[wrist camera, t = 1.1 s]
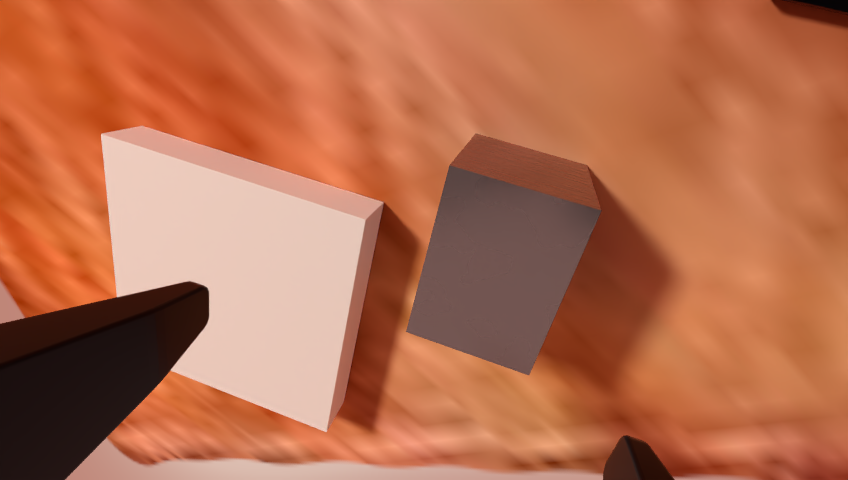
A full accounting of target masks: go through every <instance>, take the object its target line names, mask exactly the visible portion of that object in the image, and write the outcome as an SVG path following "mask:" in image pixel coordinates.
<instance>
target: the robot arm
mask: <svg viewBox="0 0 848 480" xmlns="http://www.w3.org/2000/svg"><path fill="white" fill-rule="evenodd" d="M784 1H788V2H793V3H797V4H801V5H806V6H810V7H815V8H819V9H824V10H828V11H832V12H837V13H841V14H846V15H848V0H784ZM208 320H209V290H208V288H207V287H206V286H204V285H201V284H198V283H196V282H192V281H187V282H182V283H178V284H173V285H169V286H165V287H160V288H156V289H151V290H147V291H142V292H138V293H134V294H129V295H125V296H120V297H116V298H112V299H107V300H103V301H98V302H94V303H90V304H85V305H81V306H76V307H72V308H68V309H63V310H59V311H54V312H50V313H46V314H41V315H37V316H32V317H28V318H24V319H20V320H15V321H11V322H6V323H2V324H0V480H65V479H66V478H67V477H68V476H69V475H70V474H71V473H72V472H73V471H74V470H75V469H76V468H77V467H78V466H79V465H80V464H81V463H82V462H83V461H84V460H85V459H86V458H87V457H88V456H89V455H90V454H91V453H92V452H93V451H94V450H95V449H96V448H97V446H99V444H100V443H101V442H102V441H104V439H105V438H106V437H107V436H108V435H109V434H110V433H111V432H112V431H113V430H114V429H115V428H116V427H117V426H118V425H119V424H120V423H121V422H122V421H123V420H124V419H125V418H126V417H127V416H128V415H129V414H130V413H131V412H132V411H133V410H134V409H135V408H136V407H137V406H138V405H139V404H140V403H141V402H142V401H143V400H144V399H145V398H146V397H147V396H148V395H149V394H150V393H151V392H152V391H153V390H154V388H155V387H156V386H157V385H158V384H159V383H160V382H161V381H162V380H163V379H164V377H165V376H166V375H167V374H168V373H169V371H170V370H171V369H172V368H173V366H174V365H175V364H176V363H177V362H178V360H179V359H180V358H181V357H182V355H183V354H184V353H185V352H186V350H187V349H188V348H189V347H190V345H191V344H192V343H193V342H194V340H195V339H196V338H197V337H198V336H199V334H200V333H201V332H202V331H203V329H204V328H205V327H206V325H207V323H208ZM603 480H674V478H673V477H672V476H671V474H670V473H669V472H668V470H667V469H666V468H665V466H664V465H663V464H662V462H661V461H660V460H659V458H658V457H657V455H656V454H655V453H654V451H653V450H652V449H651V447H650V446H649V445H648V444H647V443H646V442H644V441H642V440H639V439H636V438H633V437H630V436H623V437H622V438H621V439H620V440H619V442H618V443H617V445H616V447H615V448H614V450H613V452H612V453H611V455H610V457H609V458H608V460H607V462H606V464H605V468H604V473H603Z"/></svg>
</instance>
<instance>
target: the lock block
mask: <svg viewBox="0 0 848 480" xmlns="http://www.w3.org/2000/svg"><path fill="white" fill-rule="evenodd" d="M601 211H602V210H601V207H600V204H599V201H598V198H597V195H596V192H595V189H594V185H593V182H592V179H591V176H590V173H589V170H588V167H587V165H584V164H581V163H577V162H574V161H570V160H567V159H563V158H560V157H556V156H553V155H549V154H546V153H542V152H539V151H535V150H532V149H528V148H525V147H521V146H518V145H514V144H511V143H507V142H504V141H500V140H497V139H493V138H490V137H486V136H483V135H479V134H475V135H474V136H473V138H472V139H471V140H470V141H469V142H468V144H467V145H466V146H465V147H464V148H463V150H462V151H461V152H460V153H459V154H458V156H457V157H456V158H455V159H454V161H453V162H452V163H451V164H450V166H449V170H448V173H447V177H446V181H445V185H444V189H443V193H442V196H441V200H440V204H439V208H438V212H437V216H436V219H435V223H434V227H433V231H432V235H431V239H430V242H429V246H428V250H427V254H426V258H425V262H424V265H423V269H422V273H421V277H420V281H419V285H418V289H417V292H416V296H415V300H414V304H413V308H412V312H411V315H410V319H409V323H408V327H407V331H406V332H408V333H411V334H414V335H416V336H419V337H422V338H425V339H428V340H431V341H433V342H436V343H439V344H442V345H445V346H448V347H450V348H453V349H456V350H459V351H462V352H464V353H467V354H470V355H473V356H476V357H479V358H481V359H484V360H487V361H490V362H493V363H496V364H498V365H501V366H504V367H507V368H510V369H513V370H515V371H518V372H521V373H524V374H527V375H529V374H530V372H531V370H532V367H533V365H534V363H535V361H536V358H537V356H538V354H539V352H540V349H541V347H542V345H543V342H544V340H545V338H546V336H547V333H548V331H549V329H550V327H551V324H552V322H553V320H554V317H555V315H556V313H557V311H558V308H559V306H560V304H561V302H562V299H563V297H564V295H565V292H566V290H567V288H568V286H569V283H570V281H571V279H572V277H573V274H574V272H575V270H576V267H577V265H578V263H579V261H580V258H581V256H582V254H583V252H584V249H585V247H586V245H587V242H588V240H589V238H590V236H591V233H592V231H593V229H594V227H595V224H596V222H597V220H598V217H599V215H600V213H601Z"/></svg>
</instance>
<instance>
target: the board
mask: <svg viewBox="0 0 848 480" xmlns="http://www.w3.org/2000/svg"><path fill="white" fill-rule="evenodd" d="M101 139H102V149H103V159H104V169H105V179H106V190H107V200H108V210H109V220H110V230H111V240H112V251H113V261H114V271H115V281H116V291H117V297H120V296H125V295H129V294H134V293H138V292H142V291H147V290H151V289H156V288H160V287H165V286H169V285H173V284H178V283H182V282H187V281H192V282H196V283H198V284H201V285H204V286H206V287H207V288H208V290H209V320H208V323H207V325H206V327H205V328H204V329H203V331H202V332H201V333H200V334H199V336H198V337H197V338H196V339H195V340H194V342H193V343H192V344H191V345H190V347H189V348H188V349H187V350H186V352H185V353H184V354H183V355H182V357H181V358H180V359H179V360H178V362H177V363H176V364H175V365H174V366H173V368H172V369H171V371H173V372H176V373H178V374H181V375H183V376H186V377H188V378H191V379H193V380H196V381H198V382H201V383H204V384H206V385H209V386H211V387H214V388H216V389H219V390H221V391H224V392H226V393H229V394H231V395H234V396H236V397H239V398H241V399H244V400H246V401H249V402H252V403H254V404H257V405H259V406H262V407H264V408H267V409H269V410H272V411H274V412H277V413H279V414H282V415H284V416H287V417H289V418H292V419H294V420H297V421H300V422H302V423H305V424H307V425H310V426H312V427H315V428H317V429H320V430H322V431H325V432H327V430H328V429H329V427H330V425H331V423H332V422H333V420H334V418H335V416H336V415H337V413H338V411H339V409H340V408H341V406H342V404H343V403H344V399H345V394H346V389H347V384H348V379H349V374H350V369H351V364H352V359H353V354H354V349H355V344H356V339H357V334H358V329H359V324H360V319H361V314H362V309H363V304H364V299H365V294H366V289H367V284H368V279H369V274H370V269H371V264H372V259H373V254H374V249H375V244H376V239H377V234H378V229H379V224H380V219H381V214H382V209H383V204H384V202H381V201H378V200H375V199H372V198H369V197H365V196H362V195H359V194H356V193H353V192H350V191H346V190H343V189H340V188H337V187H334V186H331V185H328V184H324V183H321V182H318V181H315V180H312V179H309V178H305V177H302V176H299V175H296V174H293V173H290V172H286V171H283V170H280V169H277V168H274V167H271V166H268V165H264V164H261V163H258V162H255V161H252V160H249V159H245V158H242V157H239V156H236V155H233V154H230V153H226V152H223V151H220V150H217V149H214V148H211V147H208V146H204V145H201V144H198V143H195V142H192V141H189V140H185V139H182V138H179V137H176V136H173V135H170V134H167V133H163V132H160V131H157V130H154V129H151V128H148V127H144V126H139V127H134V128H129V129H124V130H118V131H113V132H108V133H103V134H101Z"/></svg>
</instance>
